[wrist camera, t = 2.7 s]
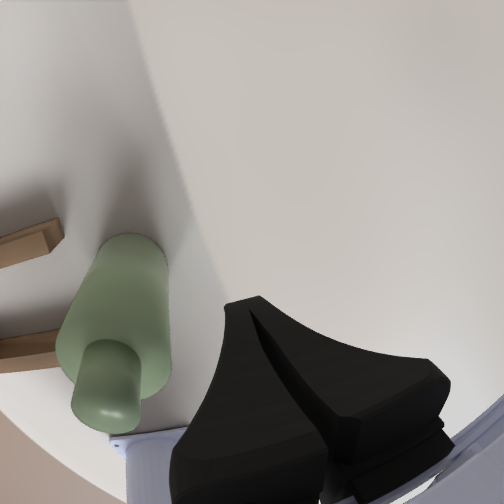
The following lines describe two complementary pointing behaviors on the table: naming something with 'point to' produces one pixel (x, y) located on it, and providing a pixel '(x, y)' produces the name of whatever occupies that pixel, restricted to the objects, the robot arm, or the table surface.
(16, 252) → the u rest
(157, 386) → the bottle
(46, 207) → the table surface
